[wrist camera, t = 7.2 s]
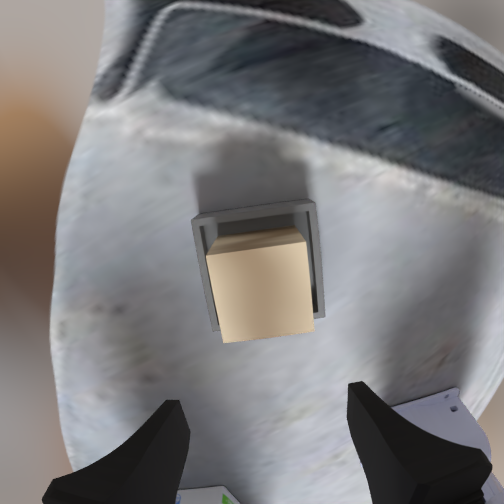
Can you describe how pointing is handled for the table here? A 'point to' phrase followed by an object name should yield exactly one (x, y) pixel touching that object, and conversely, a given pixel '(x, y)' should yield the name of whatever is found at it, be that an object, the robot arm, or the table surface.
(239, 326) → the maple cube
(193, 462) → the table surface
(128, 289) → the table surface
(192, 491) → the string lights box
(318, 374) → the table surface
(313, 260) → the board
